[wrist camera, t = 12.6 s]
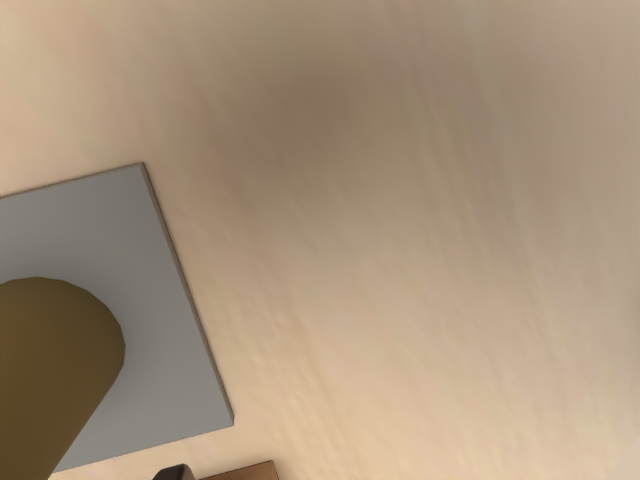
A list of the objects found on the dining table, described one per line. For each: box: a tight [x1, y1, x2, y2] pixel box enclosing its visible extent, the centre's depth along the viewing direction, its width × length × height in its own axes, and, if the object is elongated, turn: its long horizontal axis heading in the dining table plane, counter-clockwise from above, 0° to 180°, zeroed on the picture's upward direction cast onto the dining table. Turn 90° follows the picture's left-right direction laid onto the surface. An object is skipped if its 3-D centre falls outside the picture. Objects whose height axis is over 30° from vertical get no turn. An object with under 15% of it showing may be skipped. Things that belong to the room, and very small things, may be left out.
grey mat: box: [0, 162, 234, 473], centre depth 21 cm, size 12×12×1 cm
